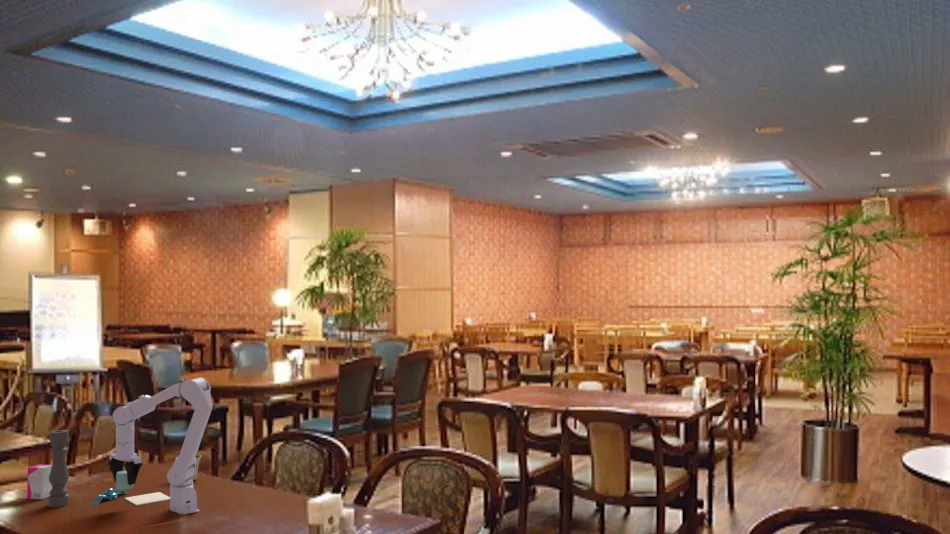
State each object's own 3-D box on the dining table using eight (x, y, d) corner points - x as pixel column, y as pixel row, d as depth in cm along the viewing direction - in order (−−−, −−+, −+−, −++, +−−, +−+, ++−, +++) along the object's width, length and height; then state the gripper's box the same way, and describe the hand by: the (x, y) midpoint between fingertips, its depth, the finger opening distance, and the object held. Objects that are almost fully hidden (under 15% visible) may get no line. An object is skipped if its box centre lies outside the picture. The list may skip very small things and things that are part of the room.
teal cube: (132, 488, 265) (132, 473, 265) (116, 489, 263) (116, 474, 263) (133, 485, 269) (133, 470, 269) (117, 486, 267) (117, 471, 268)
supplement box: (52, 496, 282) (53, 464, 282) (42, 501, 276) (42, 467, 276) (37, 496, 282) (37, 463, 283) (26, 500, 277) (26, 467, 277)
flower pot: (196, 482, 302) (196, 459, 302) (171, 482, 302) (171, 459, 303) (204, 476, 312) (205, 454, 312) (181, 476, 312) (181, 454, 312)
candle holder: (60, 508, 266) (60, 433, 267) (44, 507, 268) (44, 432, 268) (73, 503, 272) (73, 430, 273) (57, 502, 274) (57, 429, 274)
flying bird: (115, 493, 287) (115, 483, 287) (131, 495, 285) (131, 484, 285) (83, 504, 272) (83, 493, 273) (100, 506, 271) (100, 494, 271)
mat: (171, 499, 277) (171, 498, 277) (136, 505, 269) (136, 504, 269) (159, 493, 286) (159, 491, 286) (124, 498, 278) (124, 497, 278)
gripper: (149, 442, 266) (149, 483, 266) (122, 438, 274) (122, 478, 273) (130, 445, 260) (129, 487, 260) (103, 441, 268) (103, 482, 267)
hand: (124, 483), depth 266 cm, fingers closed on teal cube, 7 cm apart
